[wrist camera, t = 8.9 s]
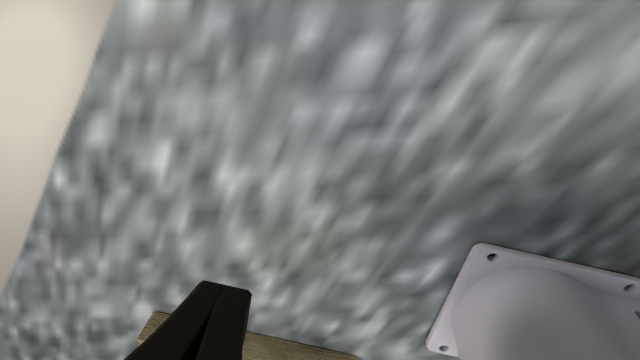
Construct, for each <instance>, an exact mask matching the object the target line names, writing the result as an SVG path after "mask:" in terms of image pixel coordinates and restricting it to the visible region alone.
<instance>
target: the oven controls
mask: <svg viewBox="0 0 640 360" xmlns="http://www.w3.org/2000/svg"><path fill="white" fill-rule="evenodd" d="M169 316H170V315H169V314H165V313H160V312H156V311H154V312H153V314H152V315H151V317H150V319H149V320H148V322H147V324H146V325H145V327H144V329H143V330H142V332H141V334H140V335H139V337H138V339H137V347H138V346H140V345H141V344H142V343H143V342H144V341H145V340H146V339H147V338H148V337H149V336H150V335H151V334H152V333H153V332H154V331H155V330H156V329H157V328H158V327H159V326H160V325H161V324H162V323H163V322H164V321H165V320H166V319H167V318H168V317H169ZM242 360H356V356H354V355H349V354H345V353H340V352H336V351H331V350H327V349H322V348H318V347H313V346H309V345H304V344H300V343H295V342H291V341H286V340H282V339H277V338H273V337H268V336H264V335H259V334H255V333H250V332H246V335H245V340H244V344H243V348H242Z"/></svg>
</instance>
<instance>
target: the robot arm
mask: <svg viewBox="0 0 640 360" xmlns="http://www.w3.org/2000/svg"><path fill="white" fill-rule="evenodd" d="M489 254H495V255H494V256H492V257H488V255H489ZM627 285H629V286H627ZM626 286H627V287H626ZM251 296H252V294H251V293H250V292H249V291H248V290H245V289H240V288H236V287H231V286H227V285H222V284H218V283H213V282H209V281H202V282H200V283H199V284H198V285H197V286H196V287H195V289H194V290H193V291H192V292H191V293H190V295H189V296H188V297H187V298H186V299H185V300H184V301H183V302H182V303H181V305H180V306H179V307H178V308H177V309H176V310H175V311H174V312H173V313H172V314H171V315H170V316H169V317H168V318H167V319H166V320H165V321H164V322H163V323H162V324H161V325H160V326H159V327H158V328H157V329H156V330H155V331H154V332H153V333H152V334H151V335H150V336H149V337H148V338H147V339H146V340H145V341H144V342H143V343H142V344H141V345H140V346H138V347H137V348H136V349H135V350H134V351H133V352H132V353H131V354H130V355H128V356H127V357H126V358H125V359H124V360H242V348H243V344H244V340H245V335H246V328H247V322H248V315H249V309H250V303H251ZM443 345H445V346H443ZM426 346H427V349H429V350H430V351H433V352H437V353H441V354H446V355H450V356H455V357H459V360H640V278H638V277H633V276H629V275H624V274H620V273H615V272H611V271H606V270H602V269H597V268H593V267H589V266H584V265H580V264H575V263H571V262H566V261H562V260H557V259H553V258H548V257H544V256H539V255H535V254H530V253H526V252H522V251H517V250H513V249H508V248H504V247H499V246H495V245H490V244H486V243H479V244H476V245H474V246H473V247H472V249H471V251H470V253H469V255H468V257H467V259H466V261H465V263H464V265H463V267H462V269H461V271H460V273H459V275H458V277H457V279H456V281H455V283H454V285H453V287H452V289H451V291H450V293H449V295H448V297H447V299H446V301H445V303H444V305H443V307H442V309H441V311H440V313H439V315H438V317H437V319H436V321H435V323H434V325H433V327H432V329H431V331H430V333H429V335H428V337H427V339H426Z"/></svg>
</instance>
